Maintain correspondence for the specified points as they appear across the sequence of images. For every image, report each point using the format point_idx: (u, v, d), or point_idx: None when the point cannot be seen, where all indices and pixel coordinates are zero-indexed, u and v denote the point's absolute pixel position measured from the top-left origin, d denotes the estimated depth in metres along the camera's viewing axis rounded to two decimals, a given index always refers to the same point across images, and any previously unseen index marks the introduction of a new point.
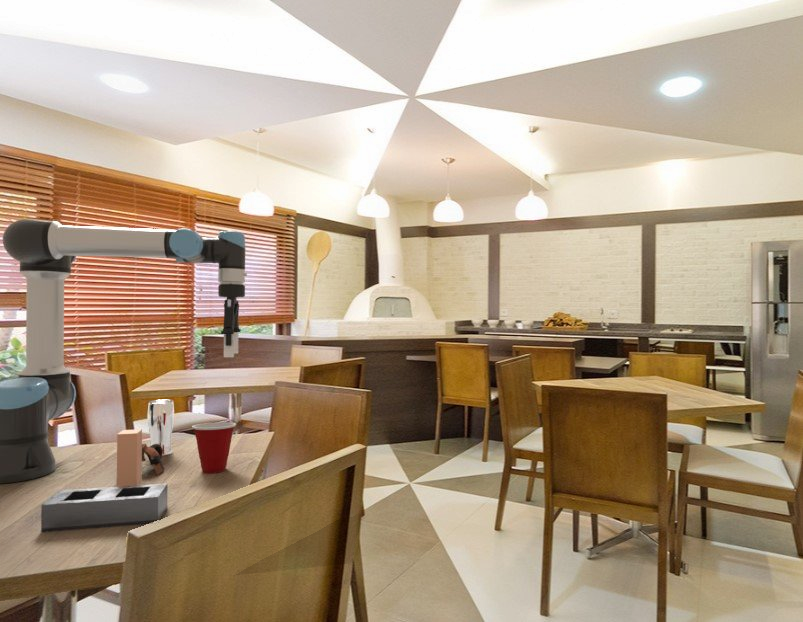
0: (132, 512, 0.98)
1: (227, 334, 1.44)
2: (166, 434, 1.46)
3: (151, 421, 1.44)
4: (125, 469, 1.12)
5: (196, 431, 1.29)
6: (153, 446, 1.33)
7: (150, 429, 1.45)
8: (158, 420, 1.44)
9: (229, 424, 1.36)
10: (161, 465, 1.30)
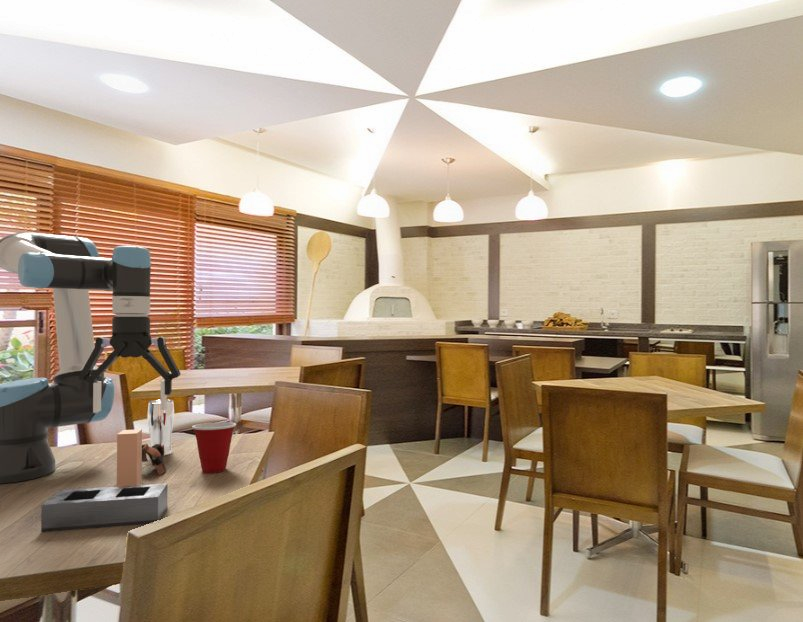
0: (132, 512, 0.98)
1: None
2: (166, 434, 1.46)
3: (151, 421, 1.44)
4: (125, 469, 1.12)
5: (196, 431, 1.29)
6: (155, 446, 1.33)
7: (150, 429, 1.45)
8: (158, 420, 1.44)
9: (229, 424, 1.36)
10: (163, 465, 1.30)
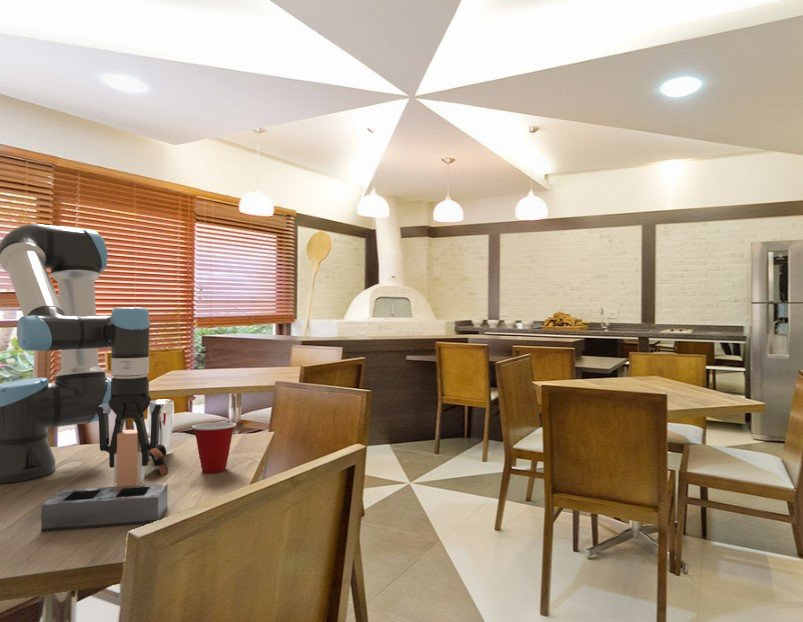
0: (132, 512, 0.98)
1: None
2: (166, 434, 1.46)
3: None
4: (125, 469, 1.12)
5: (196, 431, 1.29)
6: (157, 447, 1.33)
7: (150, 429, 1.45)
8: None
9: (229, 424, 1.36)
10: (165, 466, 1.29)
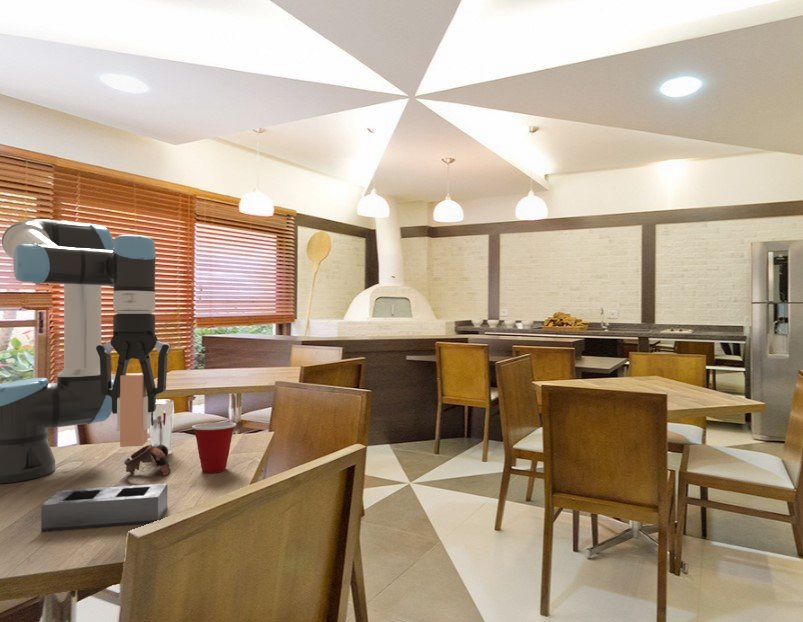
0: (132, 512, 0.98)
1: None
2: (166, 434, 1.46)
3: (151, 421, 1.44)
4: (130, 414, 1.01)
5: (196, 431, 1.29)
6: (159, 447, 1.33)
7: (150, 429, 1.45)
8: (158, 420, 1.44)
9: (229, 424, 1.36)
10: (168, 466, 1.29)
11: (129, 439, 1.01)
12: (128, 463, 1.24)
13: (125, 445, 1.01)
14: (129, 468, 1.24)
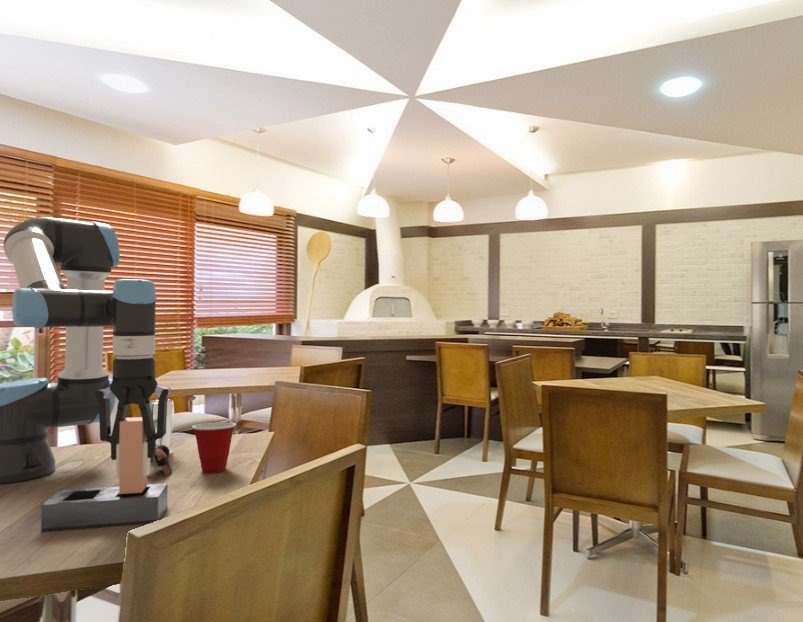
0: (132, 512, 0.98)
1: None
2: (166, 434, 1.46)
3: None
4: (129, 461, 1.00)
5: (196, 431, 1.29)
6: (160, 447, 1.32)
7: None
8: None
9: (229, 424, 1.36)
10: (169, 466, 1.29)
11: (128, 486, 0.99)
12: None
13: (124, 492, 0.99)
14: None
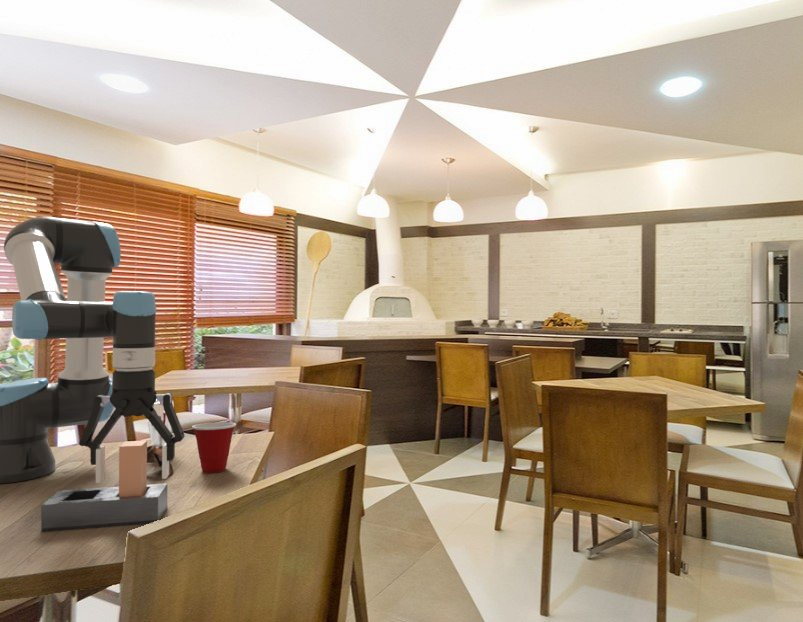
0: (132, 512, 0.98)
1: None
2: None
3: None
4: (128, 485, 1.00)
5: (196, 431, 1.29)
6: (161, 447, 1.32)
7: (150, 429, 1.45)
8: None
9: (229, 424, 1.36)
10: (171, 466, 1.29)
11: None
12: None
13: None
14: None
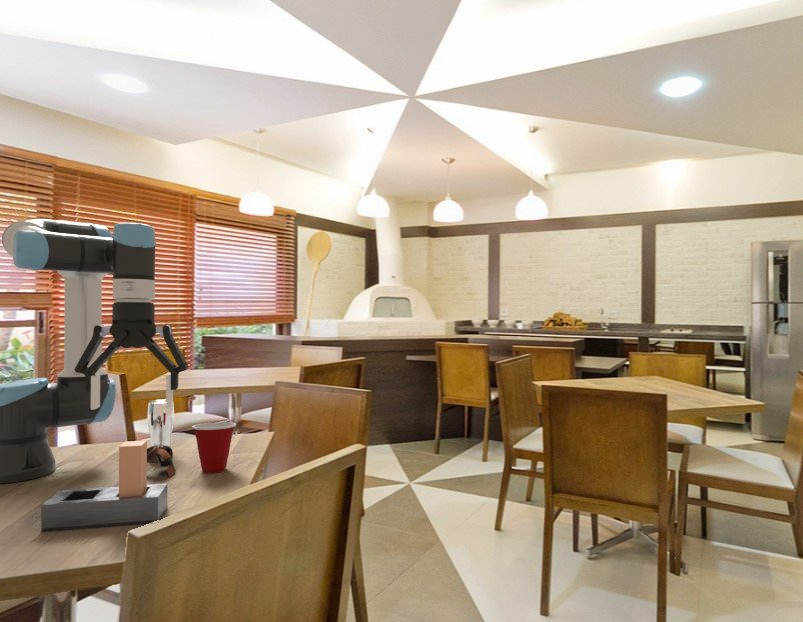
0: (132, 512, 0.98)
1: None
2: (166, 434, 1.46)
3: (151, 421, 1.44)
4: (128, 486, 1.00)
5: (196, 431, 1.29)
6: (163, 448, 1.32)
7: (150, 429, 1.45)
8: (158, 420, 1.44)
9: (229, 424, 1.36)
10: (173, 467, 1.28)
11: None
12: None
13: None
14: None
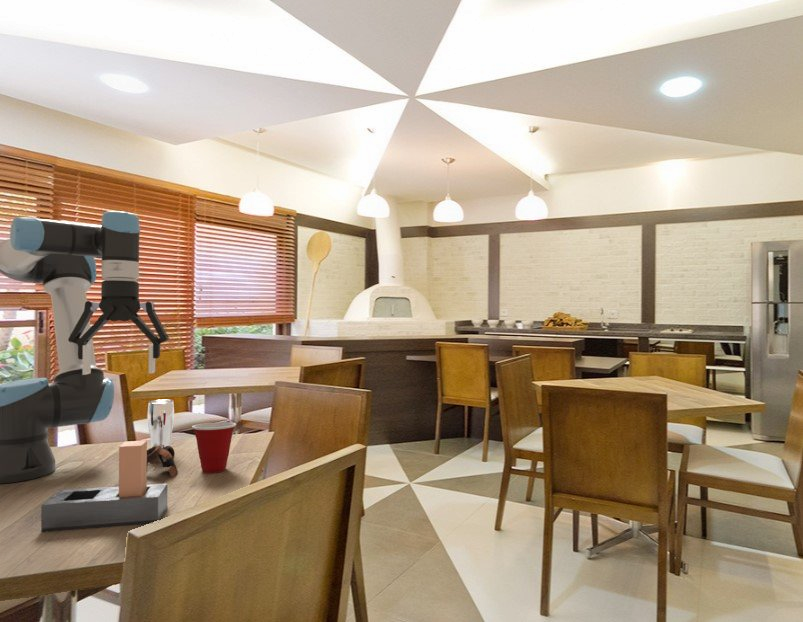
0: (132, 512, 0.98)
1: None
2: (166, 434, 1.46)
3: (151, 421, 1.44)
4: (128, 486, 1.00)
5: (196, 431, 1.29)
6: (165, 448, 1.32)
7: (150, 429, 1.45)
8: (158, 420, 1.44)
9: (229, 424, 1.36)
10: (175, 467, 1.28)
11: None
12: None
13: None
14: None
